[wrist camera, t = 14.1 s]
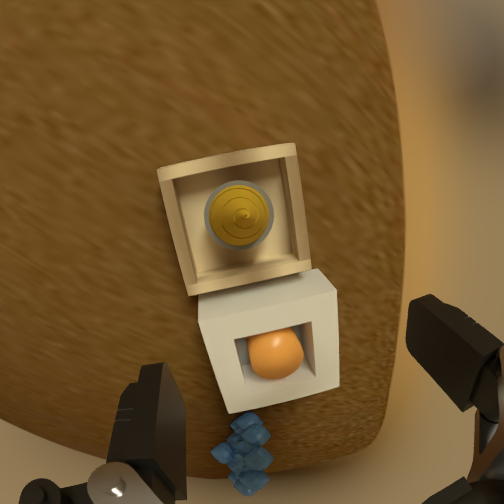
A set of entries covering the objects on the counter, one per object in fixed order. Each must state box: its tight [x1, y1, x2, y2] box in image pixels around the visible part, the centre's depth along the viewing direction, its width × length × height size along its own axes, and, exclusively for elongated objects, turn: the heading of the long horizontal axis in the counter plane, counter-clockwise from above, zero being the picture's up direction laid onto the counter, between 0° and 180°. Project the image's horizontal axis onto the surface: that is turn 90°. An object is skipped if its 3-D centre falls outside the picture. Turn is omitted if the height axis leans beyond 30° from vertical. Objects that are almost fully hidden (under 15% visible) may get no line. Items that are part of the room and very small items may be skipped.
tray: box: [157, 143, 311, 296], centre depth 27 cm, size 11×11×3 cm
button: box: [245, 326, 304, 379], centre depth 30 cm, size 5×5×4 cm
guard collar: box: [198, 268, 339, 414], centre depth 30 cm, size 12×12×5 cm
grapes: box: [211, 412, 274, 496], centre depth 31 cm, size 12×7×12 cm, turn 167°
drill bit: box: [204, 180, 274, 250], centre depth 23 cm, size 5×5×10 cm
